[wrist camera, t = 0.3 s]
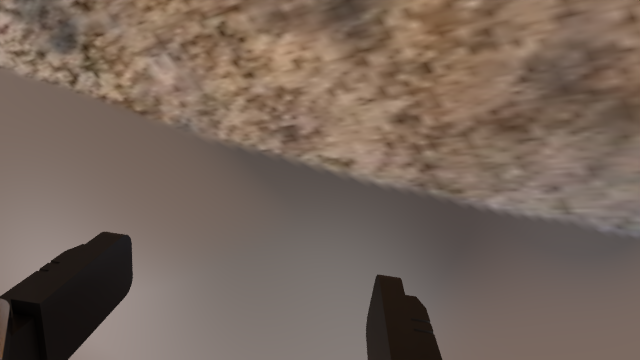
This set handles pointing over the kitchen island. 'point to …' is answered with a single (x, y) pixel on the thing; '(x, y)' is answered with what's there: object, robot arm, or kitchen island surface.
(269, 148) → the kitchen island surface
